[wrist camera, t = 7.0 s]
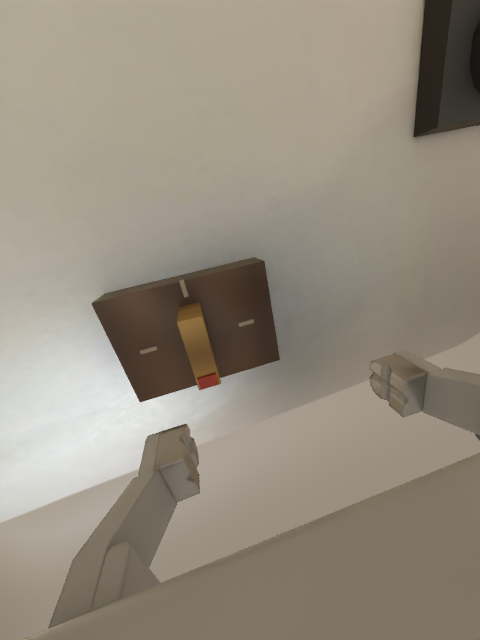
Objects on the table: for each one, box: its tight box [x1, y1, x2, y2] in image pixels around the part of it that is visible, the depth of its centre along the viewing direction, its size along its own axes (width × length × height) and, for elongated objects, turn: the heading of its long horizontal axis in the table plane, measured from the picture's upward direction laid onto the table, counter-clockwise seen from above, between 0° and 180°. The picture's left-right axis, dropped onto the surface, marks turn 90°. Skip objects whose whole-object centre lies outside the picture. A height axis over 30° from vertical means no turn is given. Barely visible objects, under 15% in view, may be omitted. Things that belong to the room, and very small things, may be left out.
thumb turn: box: [177, 302, 221, 390], centre depth 18 cm, size 6×2×4 cm, turn 11°
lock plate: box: [92, 257, 280, 402], centre depth 21 cm, size 14×10×3 cm
